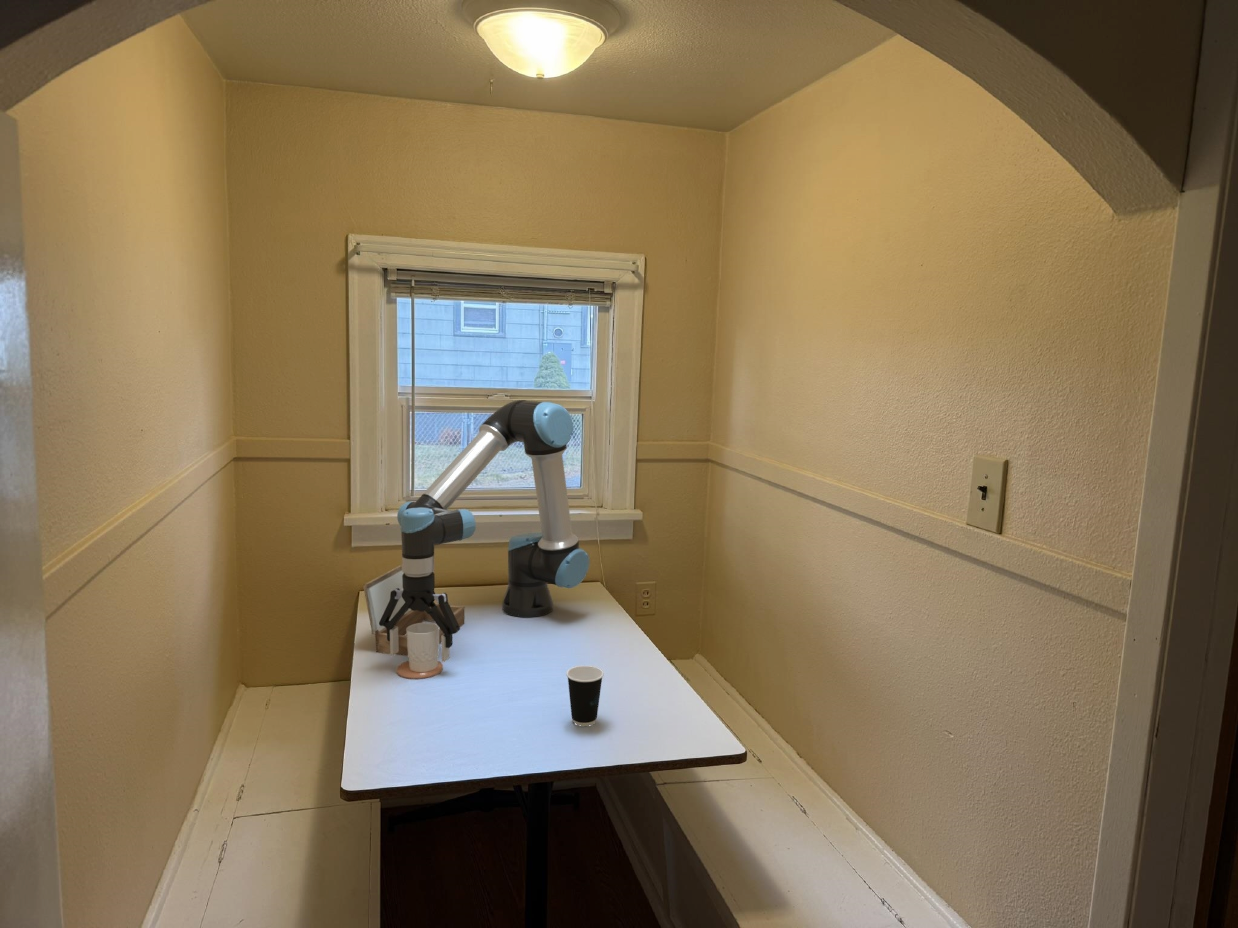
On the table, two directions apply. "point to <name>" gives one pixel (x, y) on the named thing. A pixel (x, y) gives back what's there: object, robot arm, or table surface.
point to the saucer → (405, 672)
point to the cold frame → (406, 621)
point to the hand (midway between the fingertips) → (419, 656)
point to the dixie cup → (584, 693)
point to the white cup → (423, 646)
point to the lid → (383, 596)
